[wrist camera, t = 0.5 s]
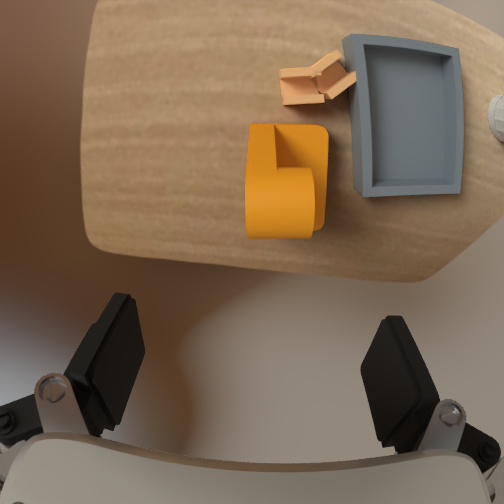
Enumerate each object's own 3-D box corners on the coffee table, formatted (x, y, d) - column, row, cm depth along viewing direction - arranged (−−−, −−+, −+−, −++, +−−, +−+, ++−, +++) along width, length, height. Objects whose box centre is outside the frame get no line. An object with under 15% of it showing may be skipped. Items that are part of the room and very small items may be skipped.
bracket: (319, 220, 33) (342, 281, 23) (254, 220, 34) (248, 282, 23) (323, 123, 28) (356, 139, 18) (251, 122, 28) (242, 137, 18)
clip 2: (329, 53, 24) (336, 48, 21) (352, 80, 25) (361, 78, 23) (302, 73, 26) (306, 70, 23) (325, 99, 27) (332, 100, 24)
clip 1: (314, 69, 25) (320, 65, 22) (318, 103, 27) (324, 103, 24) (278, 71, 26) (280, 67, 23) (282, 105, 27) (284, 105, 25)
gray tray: (442, 51, 22) (458, 48, 19) (445, 183, 30) (460, 193, 27) (342, 40, 23) (351, 33, 20) (353, 187, 31) (362, 197, 28)
